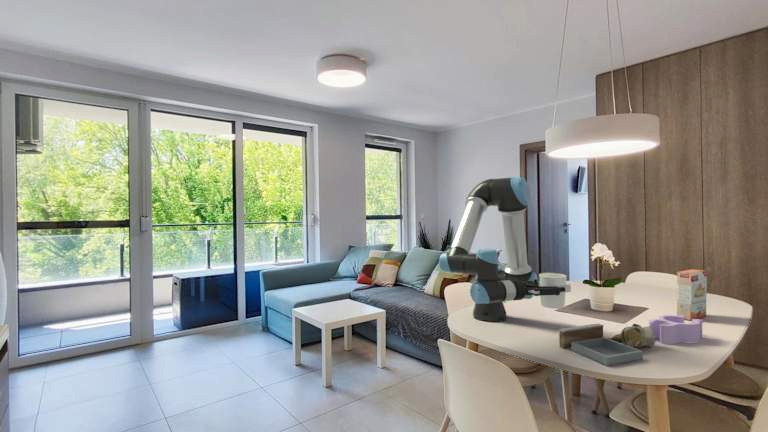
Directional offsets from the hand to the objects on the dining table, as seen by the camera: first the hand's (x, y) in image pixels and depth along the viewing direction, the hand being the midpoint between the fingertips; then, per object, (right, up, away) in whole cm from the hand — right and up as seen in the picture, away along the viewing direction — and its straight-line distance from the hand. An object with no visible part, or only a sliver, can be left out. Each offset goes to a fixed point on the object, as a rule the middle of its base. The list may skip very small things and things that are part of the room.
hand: (560, 285), depth 150 cm
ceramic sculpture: (+21, -20, -11) cm, 32 cm away
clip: (+42, -20, -3) cm, 46 cm away
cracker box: (+70, -19, +23) cm, 76 cm away
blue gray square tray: (+7, -20, -18) cm, 28 cm away
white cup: (-3, -8, -1) cm, 9 cm away
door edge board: (+4, -20, -8) cm, 22 cm away
